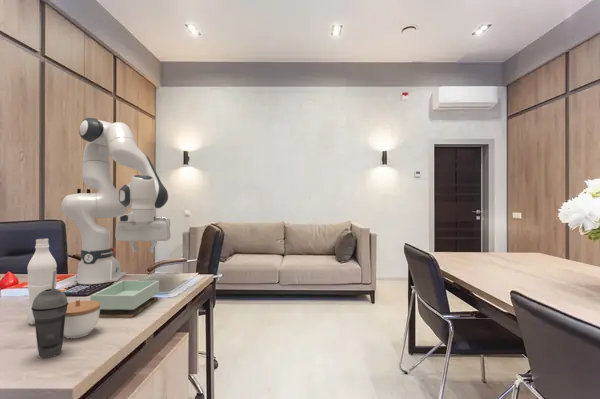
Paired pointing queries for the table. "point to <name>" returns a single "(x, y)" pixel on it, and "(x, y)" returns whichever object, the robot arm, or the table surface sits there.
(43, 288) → the water bottle
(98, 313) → the lidded jar
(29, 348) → the table surface
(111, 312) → the track
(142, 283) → the mint green tray
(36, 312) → the beverage cup
